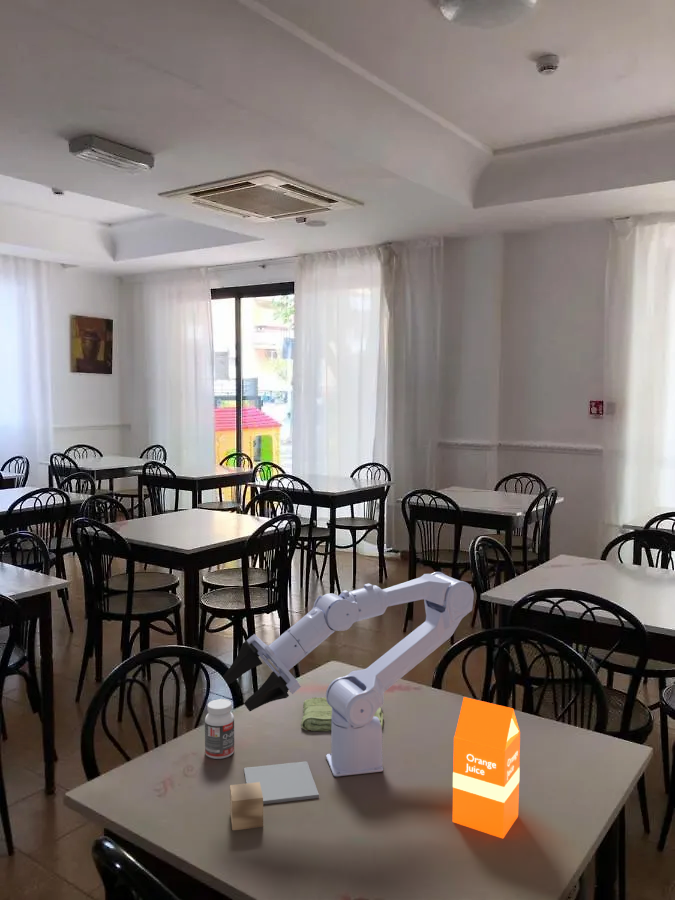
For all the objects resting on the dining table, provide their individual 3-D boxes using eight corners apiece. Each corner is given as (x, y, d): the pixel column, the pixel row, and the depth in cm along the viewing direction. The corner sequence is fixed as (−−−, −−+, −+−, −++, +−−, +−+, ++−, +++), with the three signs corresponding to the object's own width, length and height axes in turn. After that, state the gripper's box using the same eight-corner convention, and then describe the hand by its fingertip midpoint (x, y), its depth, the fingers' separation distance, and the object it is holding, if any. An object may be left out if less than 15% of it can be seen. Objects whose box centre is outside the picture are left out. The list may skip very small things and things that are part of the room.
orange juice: (503, 839, 118) (505, 717, 116) (451, 822, 122) (453, 704, 121) (519, 815, 124) (521, 700, 123) (469, 800, 129) (471, 688, 127)
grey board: (307, 764, 141) (306, 761, 141) (318, 797, 130) (318, 794, 130) (243, 770, 139) (243, 767, 139) (250, 805, 127) (250, 802, 127)
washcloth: (385, 734, 155) (385, 719, 154) (300, 734, 155) (300, 719, 154) (381, 707, 168) (381, 693, 168) (303, 707, 168) (303, 693, 167)
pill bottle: (228, 761, 142) (228, 711, 141) (200, 758, 143) (200, 708, 143) (238, 747, 148) (238, 699, 147) (211, 744, 149) (210, 696, 148)
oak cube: (259, 810, 126) (259, 782, 125) (263, 827, 121) (263, 797, 121) (230, 813, 125) (230, 785, 124) (232, 830, 120) (232, 801, 120)
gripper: (267, 608, 137) (207, 657, 133) (311, 654, 127) (248, 708, 122) (280, 630, 141) (222, 678, 137) (323, 676, 131) (263, 729, 127)
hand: (235, 693), depth 130 cm, fingers open, 7 cm apart
